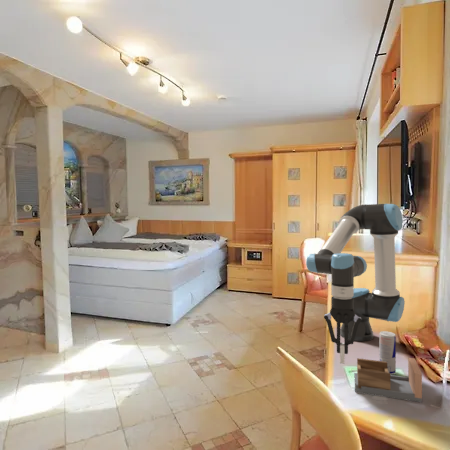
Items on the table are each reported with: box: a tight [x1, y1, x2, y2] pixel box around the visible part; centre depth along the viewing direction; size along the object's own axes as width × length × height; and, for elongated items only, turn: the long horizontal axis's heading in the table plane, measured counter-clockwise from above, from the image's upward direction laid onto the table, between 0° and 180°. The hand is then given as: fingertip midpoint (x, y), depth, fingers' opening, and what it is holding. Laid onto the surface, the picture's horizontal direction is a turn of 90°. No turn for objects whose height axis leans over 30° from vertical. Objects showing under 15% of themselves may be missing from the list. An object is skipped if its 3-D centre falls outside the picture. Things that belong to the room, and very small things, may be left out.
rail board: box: [353, 357, 423, 403], centre depth 118 cm, size 12×20×9 cm, turn 70°
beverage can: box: [378, 330, 397, 375], centre depth 129 cm, size 6×6×15 cm
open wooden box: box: [356, 358, 390, 390], centre depth 119 cm, size 10×10×6 cm
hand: (342, 361), depth 122 cm, fingers closed
